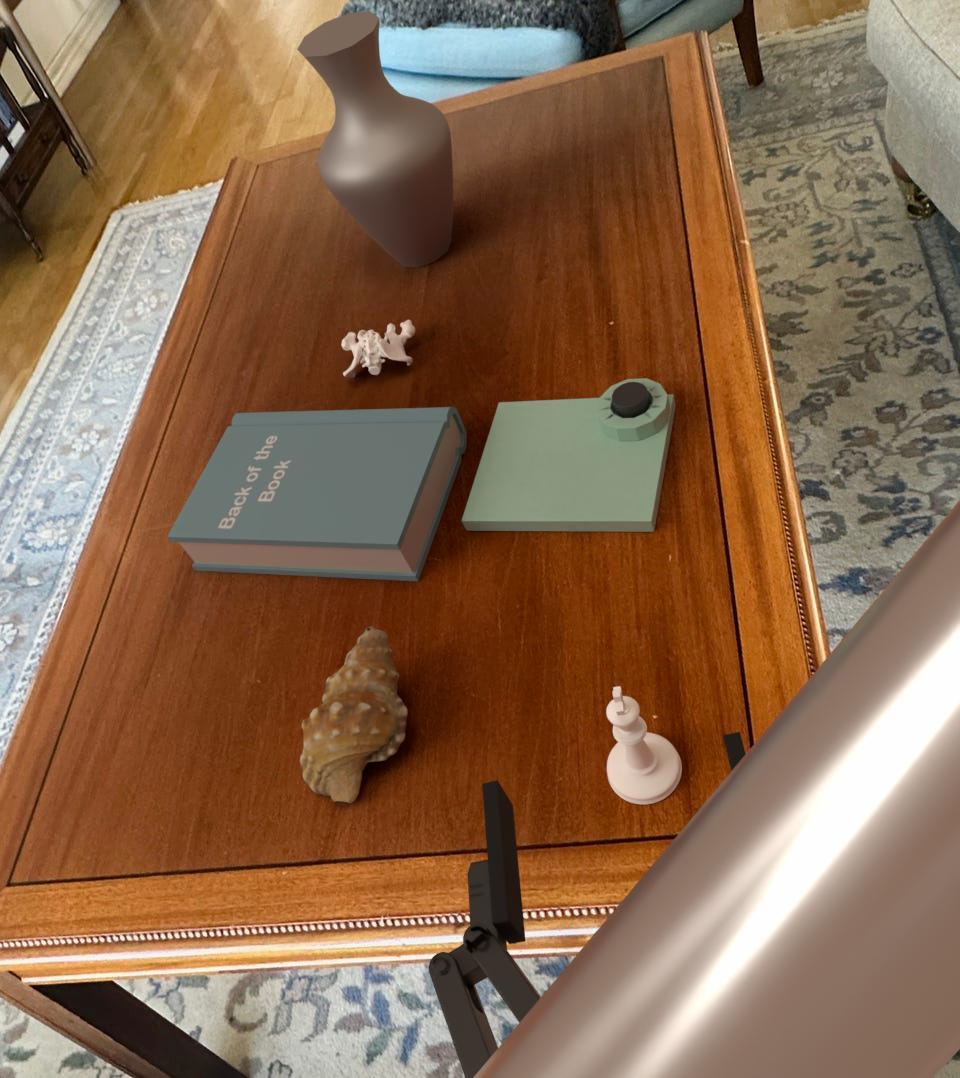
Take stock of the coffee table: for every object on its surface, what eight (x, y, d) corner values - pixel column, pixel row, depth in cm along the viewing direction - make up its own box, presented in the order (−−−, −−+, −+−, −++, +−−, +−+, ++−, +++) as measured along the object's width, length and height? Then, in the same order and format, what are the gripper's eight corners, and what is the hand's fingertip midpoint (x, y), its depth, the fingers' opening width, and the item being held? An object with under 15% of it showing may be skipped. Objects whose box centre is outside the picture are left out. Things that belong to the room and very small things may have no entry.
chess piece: (676, 730, 66) (652, 651, 58) (687, 799, 63) (664, 724, 55) (603, 741, 67) (571, 665, 60) (611, 809, 64) (578, 737, 56)
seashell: (328, 731, 78) (313, 620, 74) (428, 737, 76) (418, 624, 73) (288, 806, 70) (269, 685, 66) (399, 814, 68) (386, 691, 64)
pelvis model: (410, 304, 99) (403, 342, 95) (423, 339, 102) (416, 377, 98) (337, 320, 101) (326, 358, 97) (352, 354, 104) (342, 392, 100)
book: (195, 570, 90) (166, 536, 86) (262, 441, 99) (239, 406, 95) (418, 581, 81) (397, 544, 77) (469, 438, 90) (452, 399, 86)
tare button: (652, 392, 83) (649, 380, 82) (647, 417, 81) (644, 406, 80) (617, 394, 84) (614, 382, 83) (612, 419, 82) (609, 407, 81)
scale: (676, 401, 85) (671, 376, 83) (654, 532, 77) (648, 507, 75) (503, 409, 91) (494, 385, 89) (466, 531, 83) (455, 508, 81)
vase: (472, 280, 105) (389, 53, 87) (351, 298, 110) (249, 86, 92) (493, 202, 114) (422, -20, 96) (380, 222, 119) (292, 14, 100)
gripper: (417, 1423, 36) (407, 847, 50) (1086, 1369, 32) (866, 759, 46) (336, 1434, 30) (351, 783, 45) (1132, 1370, 26) (867, 677, 41)
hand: (613, 771), depth 46 cm, fingers open, 10 cm apart
